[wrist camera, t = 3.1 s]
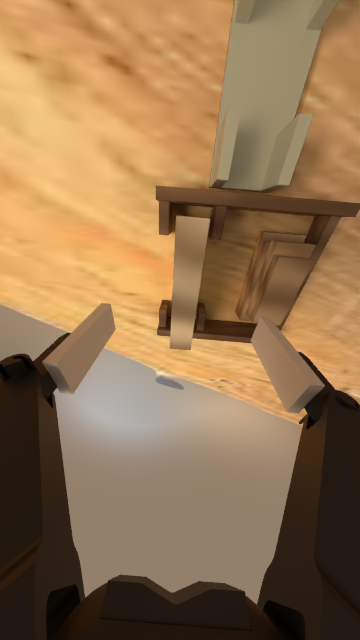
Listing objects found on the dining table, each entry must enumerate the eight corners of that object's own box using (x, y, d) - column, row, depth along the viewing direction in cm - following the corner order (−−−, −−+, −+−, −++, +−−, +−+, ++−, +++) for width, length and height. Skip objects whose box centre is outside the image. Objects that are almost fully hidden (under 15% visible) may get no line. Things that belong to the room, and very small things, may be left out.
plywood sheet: (181, 216, 23) (176, 215, 14) (201, 218, 23) (210, 218, 14) (175, 310, 32) (169, 348, 23) (189, 311, 32) (190, 350, 23)
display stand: (244, -80, 12) (279, -262, 8) (347, -71, 12) (443, -246, 8) (209, 187, 21) (214, 178, 16) (268, 192, 21) (290, 185, 16)
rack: (162, 191, 21) (153, 183, 16) (328, 206, 21) (375, 202, 16) (161, 320, 33) (156, 340, 28) (269, 329, 33) (284, 351, 28)
